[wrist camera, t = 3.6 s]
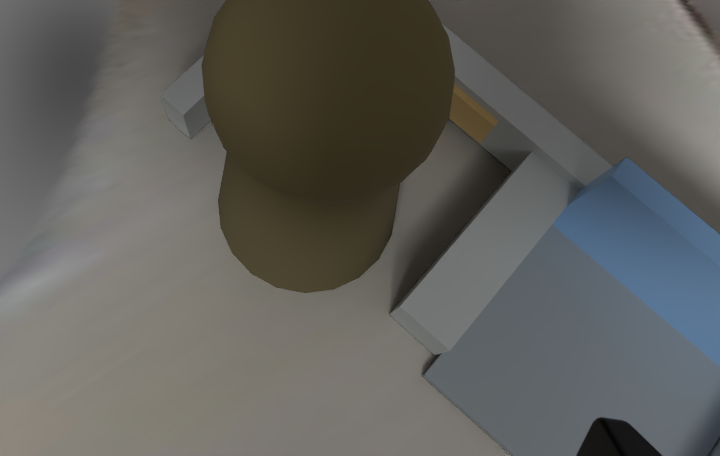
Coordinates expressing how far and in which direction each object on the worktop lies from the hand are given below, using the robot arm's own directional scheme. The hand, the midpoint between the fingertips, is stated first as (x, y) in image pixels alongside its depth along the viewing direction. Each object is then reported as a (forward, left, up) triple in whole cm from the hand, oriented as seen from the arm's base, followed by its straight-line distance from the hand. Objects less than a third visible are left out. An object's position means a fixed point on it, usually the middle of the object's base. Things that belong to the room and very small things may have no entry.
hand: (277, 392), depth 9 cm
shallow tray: (+8, -2, -12) cm, 15 cm away
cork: (+5, +4, -13) cm, 14 cm away
